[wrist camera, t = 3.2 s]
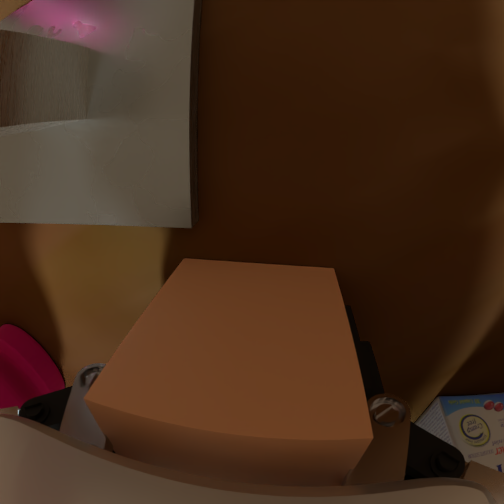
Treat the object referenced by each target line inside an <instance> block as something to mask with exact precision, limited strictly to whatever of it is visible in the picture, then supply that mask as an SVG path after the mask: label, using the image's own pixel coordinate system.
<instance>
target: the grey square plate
mask: <svg viewBox="0 0 504 504" xmlns="http://www.w3.org/2000/svg"><path fill="white" fill-rule="evenodd" d="M201 7H202V0H33V1H31V2H29V3H28V4H26V5H24V6H23V7H21V8H20V9H18V10H17V11H15V12H13V13H12V14H10V15H9V16H7V17H6V18H5V19H3V20H2V21H0V223H55V224H94V225H125V226H151V227H175V228H192V227H193V226H194V225H195V224H196V223H197V222H198V221H199V216H198V176H197V101H198V64H199V40H200V22H201Z"/></svg>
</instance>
